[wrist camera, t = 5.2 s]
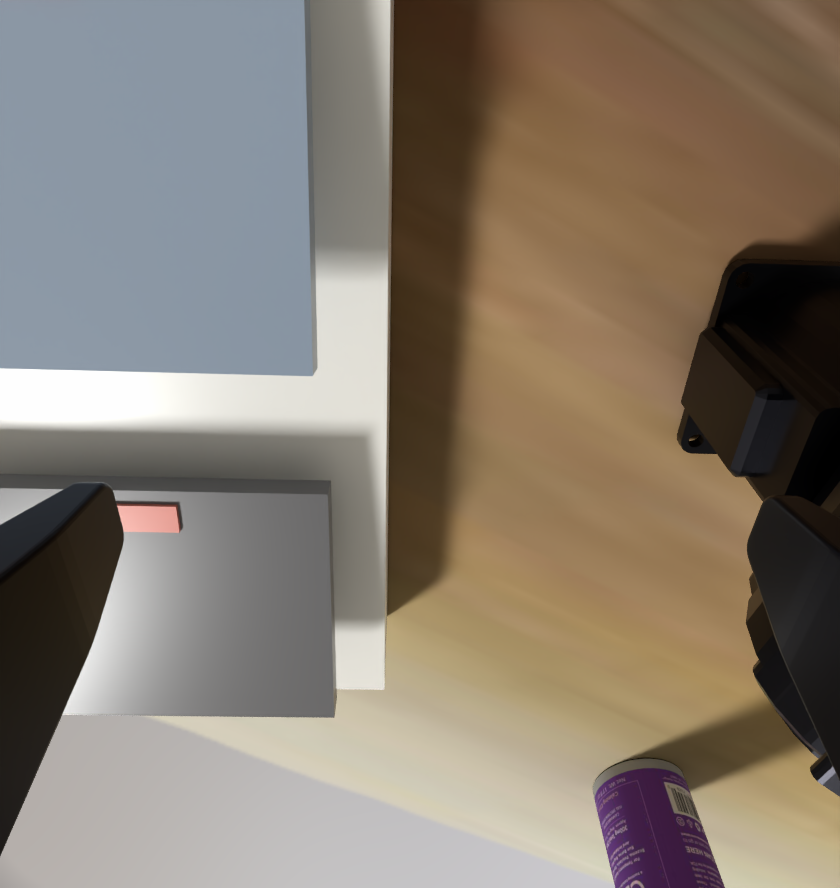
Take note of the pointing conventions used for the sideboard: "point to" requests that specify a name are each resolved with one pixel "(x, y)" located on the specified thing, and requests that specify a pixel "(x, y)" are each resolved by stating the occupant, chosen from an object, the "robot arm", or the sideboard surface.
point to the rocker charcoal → (209, 597)
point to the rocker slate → (157, 186)
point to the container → (653, 828)
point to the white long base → (274, 396)
